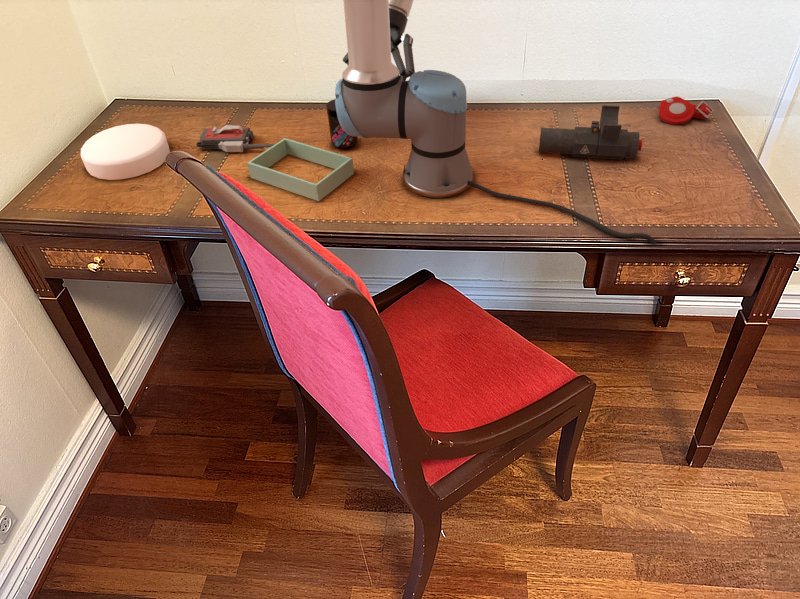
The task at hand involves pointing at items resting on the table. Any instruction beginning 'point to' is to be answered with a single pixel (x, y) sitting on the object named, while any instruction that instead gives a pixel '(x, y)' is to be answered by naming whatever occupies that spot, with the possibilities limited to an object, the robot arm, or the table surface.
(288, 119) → the table surface
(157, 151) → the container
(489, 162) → the table surface
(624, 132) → the laser sight
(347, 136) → the supplement container
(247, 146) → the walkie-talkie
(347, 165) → the rectangular frame
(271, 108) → the table surface
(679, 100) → the tracker holder
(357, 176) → the table surface
